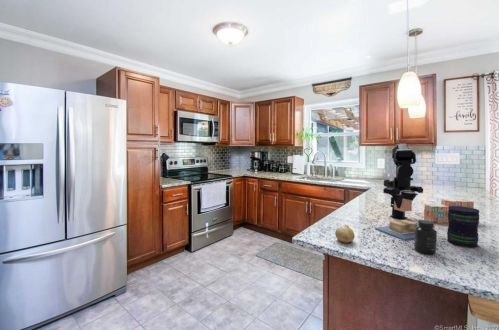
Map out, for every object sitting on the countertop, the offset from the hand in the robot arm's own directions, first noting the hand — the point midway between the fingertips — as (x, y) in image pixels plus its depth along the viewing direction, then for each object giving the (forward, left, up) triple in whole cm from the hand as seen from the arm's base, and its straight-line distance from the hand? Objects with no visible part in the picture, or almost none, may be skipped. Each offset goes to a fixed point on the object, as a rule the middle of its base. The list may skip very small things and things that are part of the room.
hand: (402, 207), depth 112 cm
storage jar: (-11, +18, -12) cm, 25 cm away
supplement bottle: (+12, +19, -12) cm, 26 cm away
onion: (+34, 0, -12) cm, 36 cm away
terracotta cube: (0, 0, -1) cm, 1 cm away
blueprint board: (0, 0, -12) cm, 12 cm away
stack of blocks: (-39, -5, -12) cm, 42 cm away
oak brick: (0, 0, -11) cm, 11 cm away
